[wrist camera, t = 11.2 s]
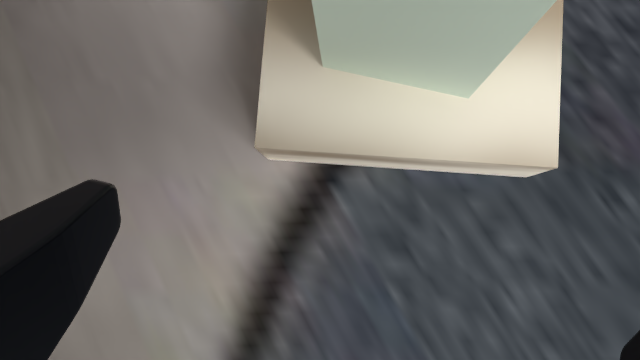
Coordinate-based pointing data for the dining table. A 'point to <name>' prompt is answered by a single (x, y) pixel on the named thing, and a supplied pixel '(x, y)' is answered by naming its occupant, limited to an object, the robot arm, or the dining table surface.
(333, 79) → the plinth
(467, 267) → the dining table surface
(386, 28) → the pillar
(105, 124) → the dining table surface
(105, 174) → the dining table surface
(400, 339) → the dining table surface
